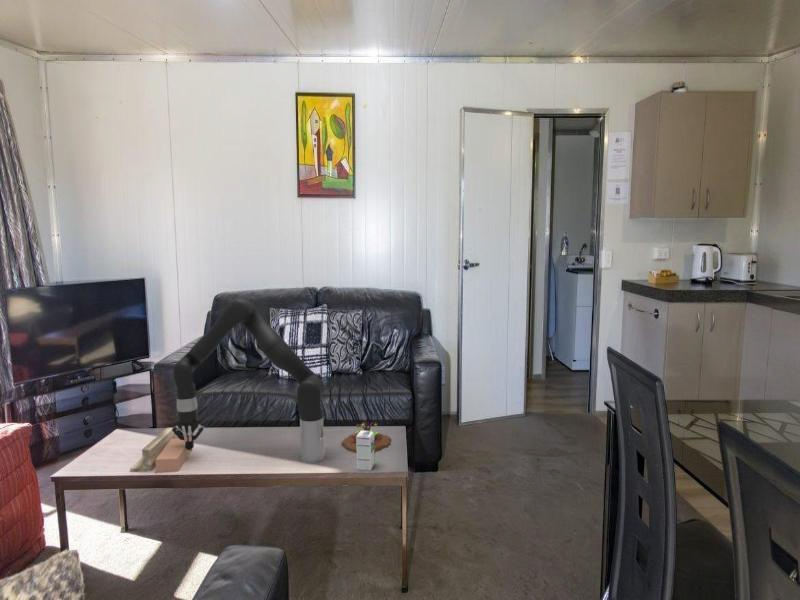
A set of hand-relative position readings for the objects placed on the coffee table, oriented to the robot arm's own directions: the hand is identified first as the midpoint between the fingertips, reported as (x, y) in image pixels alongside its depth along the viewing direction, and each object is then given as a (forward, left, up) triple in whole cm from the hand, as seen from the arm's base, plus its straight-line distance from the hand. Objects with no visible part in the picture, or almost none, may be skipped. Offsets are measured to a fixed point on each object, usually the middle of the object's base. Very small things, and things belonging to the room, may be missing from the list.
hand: (189, 449), depth 206 cm
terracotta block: (+5, +2, -5) cm, 7 cm away
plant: (-70, -13, -5) cm, 72 cm away
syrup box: (-71, +10, -4) cm, 72 cm away
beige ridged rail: (+12, 0, -4) cm, 13 cm away
